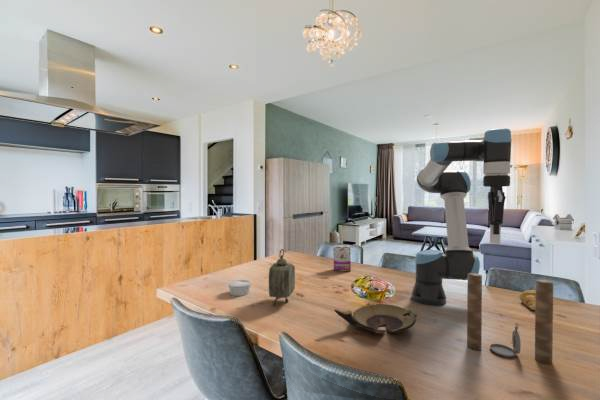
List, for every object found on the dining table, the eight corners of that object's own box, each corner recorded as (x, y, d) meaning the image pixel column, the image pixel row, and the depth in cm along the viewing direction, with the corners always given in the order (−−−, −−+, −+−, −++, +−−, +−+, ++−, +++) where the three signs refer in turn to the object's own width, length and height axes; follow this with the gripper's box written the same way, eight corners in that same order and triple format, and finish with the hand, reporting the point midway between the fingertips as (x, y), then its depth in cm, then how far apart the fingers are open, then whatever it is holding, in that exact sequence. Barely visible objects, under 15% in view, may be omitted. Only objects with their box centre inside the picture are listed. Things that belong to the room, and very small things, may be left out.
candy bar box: (350, 269, 187) (350, 245, 186) (350, 271, 182) (350, 246, 182) (333, 268, 189) (333, 245, 188) (333, 270, 184) (333, 246, 183)
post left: (468, 348, 90) (468, 275, 90) (466, 342, 94) (466, 272, 93) (482, 351, 89) (483, 277, 88) (480, 345, 92) (480, 274, 92)
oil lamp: (422, 347, 91) (423, 324, 91) (332, 335, 99) (332, 314, 99) (413, 318, 113) (413, 299, 113) (340, 310, 121) (340, 293, 121)
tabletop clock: (277, 295, 138) (277, 246, 138) (295, 297, 136) (295, 246, 136) (268, 307, 124) (268, 252, 124) (288, 309, 122) (288, 252, 122)
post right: (537, 362, 83) (538, 282, 82) (532, 355, 86) (533, 279, 86) (554, 365, 81) (555, 284, 81) (549, 358, 85) (550, 280, 84)
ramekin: (253, 289, 148) (253, 279, 148) (247, 297, 137) (247, 286, 137) (233, 289, 149) (233, 279, 149) (225, 296, 138) (225, 286, 138)
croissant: (543, 322, 117) (555, 308, 114) (516, 306, 122) (527, 292, 119) (540, 305, 133) (551, 292, 130) (517, 291, 138) (527, 279, 136)
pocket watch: (484, 347, 91) (485, 317, 91) (508, 345, 92) (508, 316, 92) (505, 361, 83) (505, 329, 83) (531, 360, 84) (531, 327, 84)
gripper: (515, 174, 87) (513, 247, 88) (504, 175, 99) (503, 240, 100) (487, 174, 90) (486, 246, 91) (480, 176, 102) (478, 239, 103)
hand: (494, 243), depth 96 cm, fingers closed
